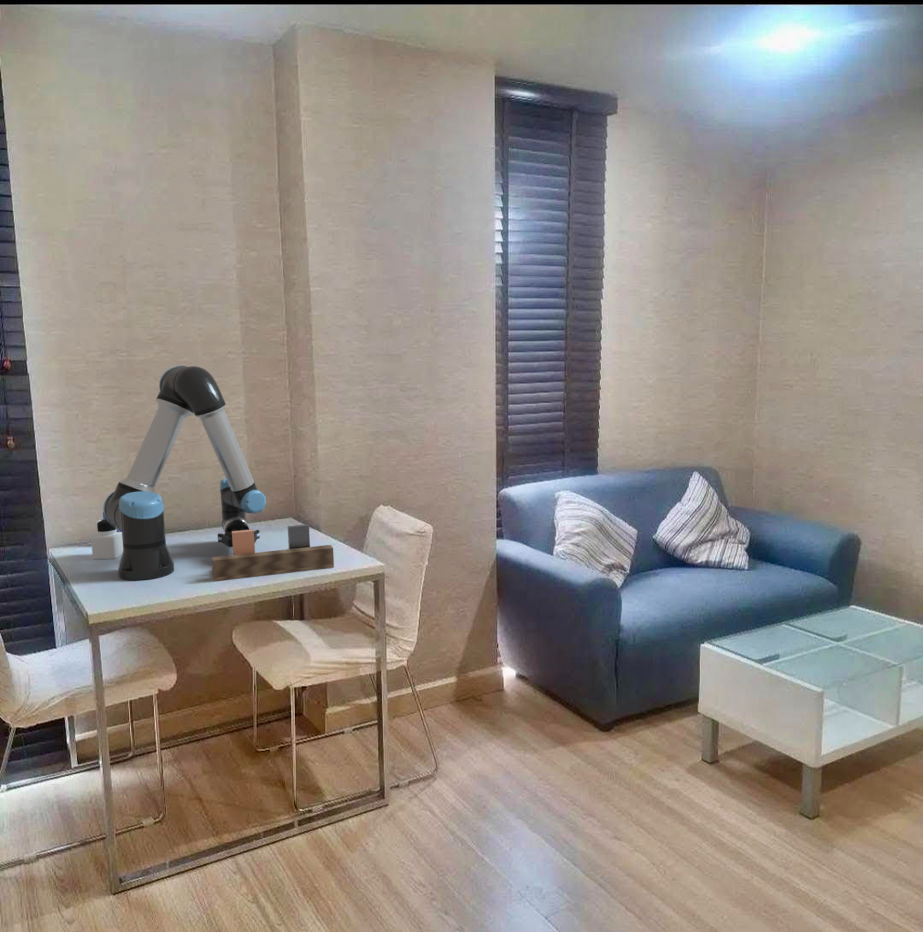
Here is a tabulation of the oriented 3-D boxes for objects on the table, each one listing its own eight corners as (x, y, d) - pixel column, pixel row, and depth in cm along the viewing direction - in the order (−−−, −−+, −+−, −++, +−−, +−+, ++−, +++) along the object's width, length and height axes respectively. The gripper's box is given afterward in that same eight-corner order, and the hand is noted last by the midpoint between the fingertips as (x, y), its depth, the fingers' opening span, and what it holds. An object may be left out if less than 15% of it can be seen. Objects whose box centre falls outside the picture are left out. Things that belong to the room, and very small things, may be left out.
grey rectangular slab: (290, 563, 230) (288, 527, 228) (289, 562, 232) (287, 526, 230) (310, 561, 232) (308, 525, 231) (309, 559, 234) (307, 524, 232)
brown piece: (214, 581, 218) (212, 560, 217) (212, 570, 229) (210, 550, 228) (334, 567, 230) (333, 547, 229) (326, 557, 241) (325, 538, 240)
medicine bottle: (124, 553, 251) (121, 517, 250) (115, 559, 244) (112, 521, 242) (102, 553, 251) (99, 517, 249) (92, 559, 244) (89, 522, 242)
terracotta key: (234, 569, 225) (232, 532, 223) (234, 568, 226) (231, 531, 225) (255, 567, 227) (253, 530, 225) (255, 565, 229) (252, 529, 227)
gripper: (258, 540, 252) (266, 557, 230) (216, 544, 247) (221, 562, 225) (257, 517, 250) (265, 533, 229) (214, 521, 246) (219, 537, 224)
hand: (243, 547), depth 227 cm, fingers closed
